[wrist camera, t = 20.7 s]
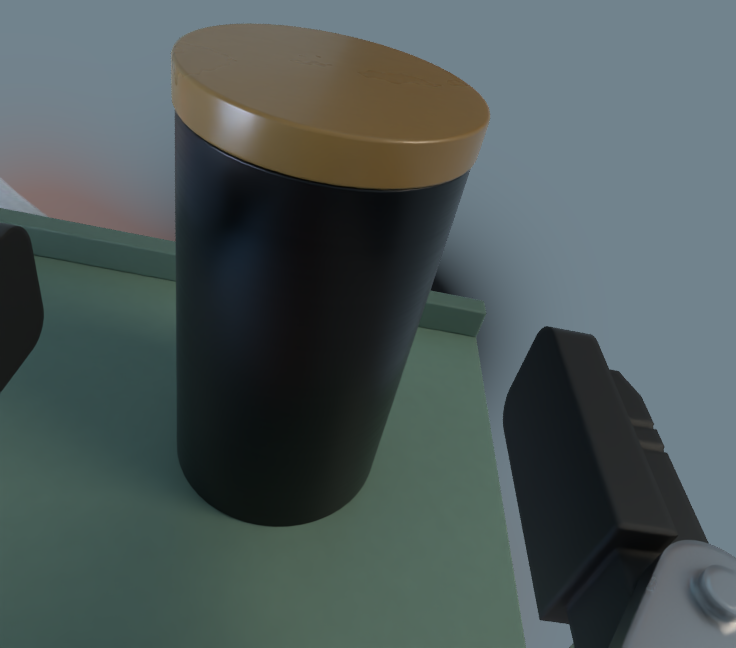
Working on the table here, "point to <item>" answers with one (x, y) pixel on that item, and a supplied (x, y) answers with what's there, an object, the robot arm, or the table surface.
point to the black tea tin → (304, 254)
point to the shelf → (205, 523)
